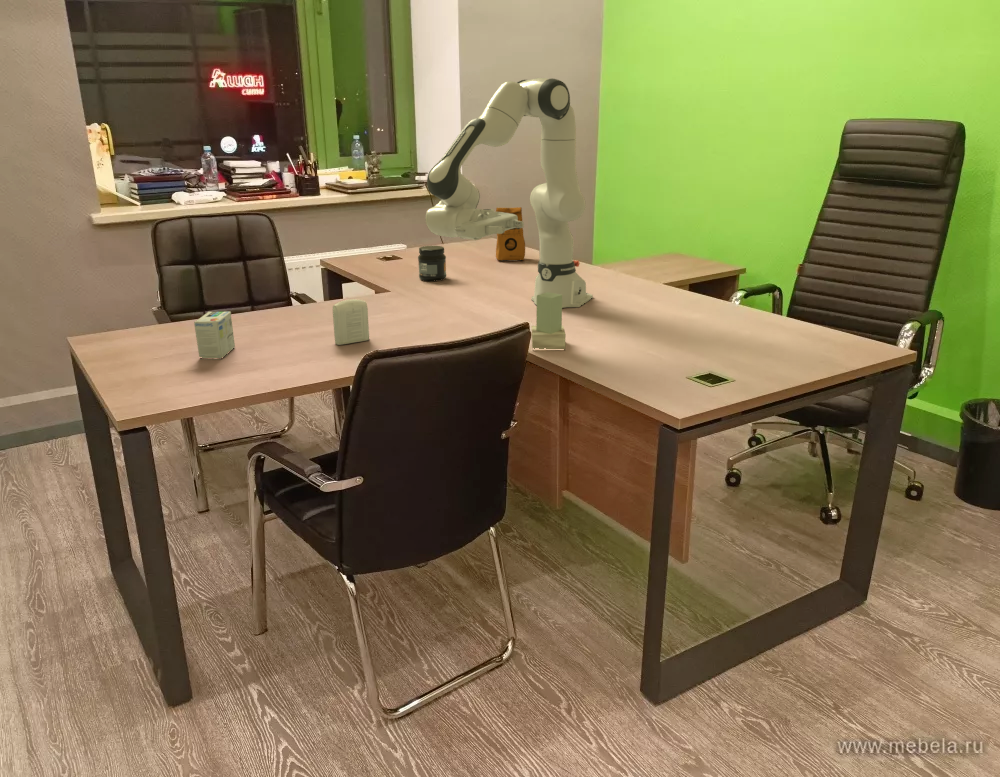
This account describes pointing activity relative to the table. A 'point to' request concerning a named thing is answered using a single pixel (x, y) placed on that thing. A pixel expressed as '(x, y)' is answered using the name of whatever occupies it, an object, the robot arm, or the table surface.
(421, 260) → the supplement container
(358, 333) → the photo printer
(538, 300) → the green block
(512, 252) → the coffee package
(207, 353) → the light bulb box
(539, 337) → the base block
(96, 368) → the table surface
